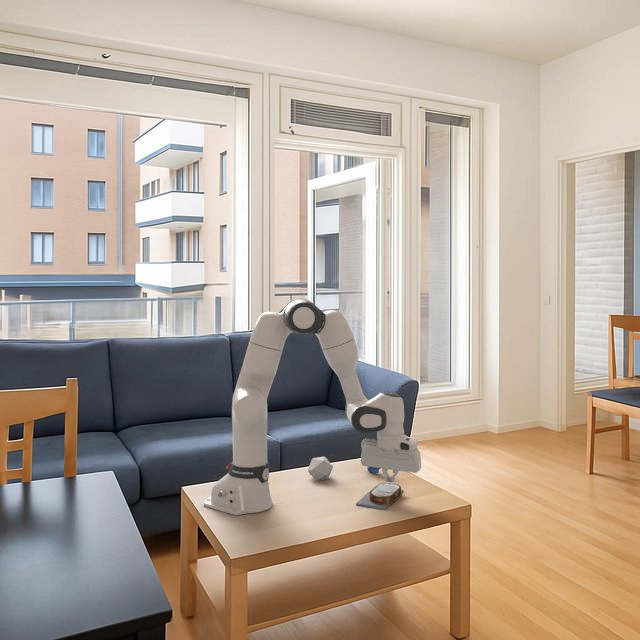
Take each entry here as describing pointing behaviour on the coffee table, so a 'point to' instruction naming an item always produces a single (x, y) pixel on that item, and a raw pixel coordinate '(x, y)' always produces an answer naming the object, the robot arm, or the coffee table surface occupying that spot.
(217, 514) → the coffee table surface
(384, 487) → the tin
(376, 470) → the grapes
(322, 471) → the die
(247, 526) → the coffee table surface
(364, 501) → the mat
